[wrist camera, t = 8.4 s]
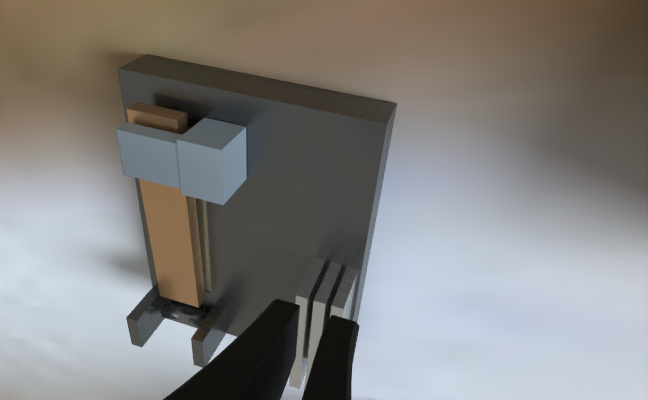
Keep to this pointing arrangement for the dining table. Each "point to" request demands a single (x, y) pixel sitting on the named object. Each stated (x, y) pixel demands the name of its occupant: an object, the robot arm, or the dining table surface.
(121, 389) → the dining table surface
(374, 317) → the dining table surface
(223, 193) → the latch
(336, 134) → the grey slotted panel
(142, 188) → the strap
